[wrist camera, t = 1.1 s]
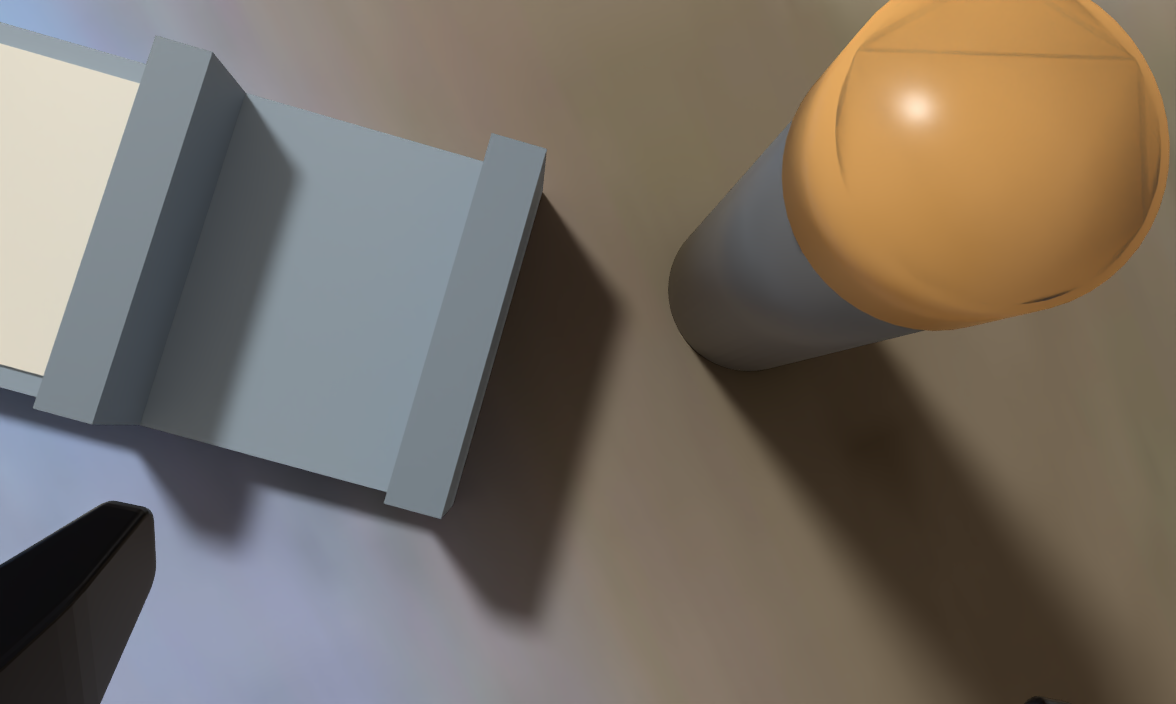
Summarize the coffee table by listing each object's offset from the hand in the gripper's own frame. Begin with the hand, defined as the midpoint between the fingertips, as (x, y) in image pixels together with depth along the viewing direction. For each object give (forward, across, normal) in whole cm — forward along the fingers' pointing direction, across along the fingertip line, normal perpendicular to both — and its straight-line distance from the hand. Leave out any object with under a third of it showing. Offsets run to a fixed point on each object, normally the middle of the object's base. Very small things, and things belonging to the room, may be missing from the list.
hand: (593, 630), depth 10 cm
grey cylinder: (+15, -4, +4) cm, 16 cm away
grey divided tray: (+14, +14, +6) cm, 20 cm away
